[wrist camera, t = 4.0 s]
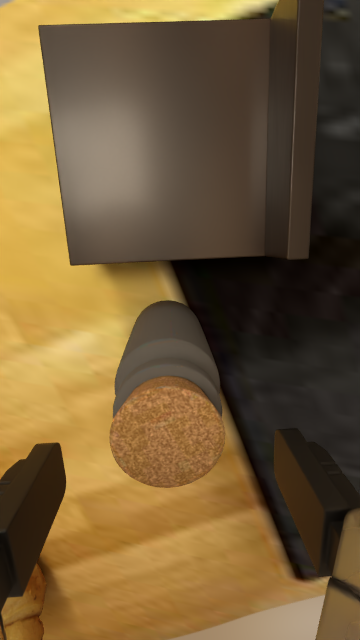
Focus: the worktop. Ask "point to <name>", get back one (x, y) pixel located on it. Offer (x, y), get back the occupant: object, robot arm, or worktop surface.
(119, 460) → the bottle
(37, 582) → the bread roll
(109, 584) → the worktop surface
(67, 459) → the worktop surface
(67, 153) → the dark brown legged piece
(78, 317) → the worktop surface
